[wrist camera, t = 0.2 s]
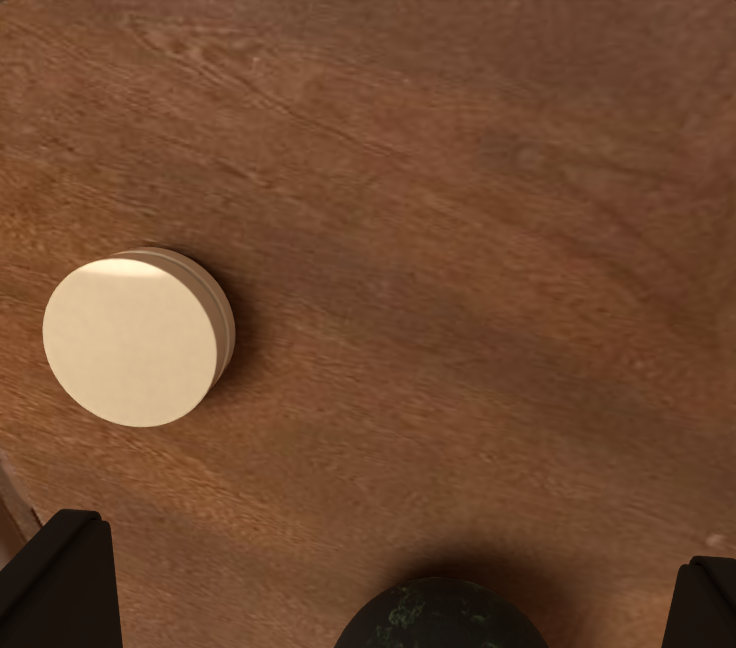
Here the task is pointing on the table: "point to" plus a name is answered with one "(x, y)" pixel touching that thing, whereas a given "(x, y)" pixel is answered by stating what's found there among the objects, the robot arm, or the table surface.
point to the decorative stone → (440, 618)
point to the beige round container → (139, 335)
